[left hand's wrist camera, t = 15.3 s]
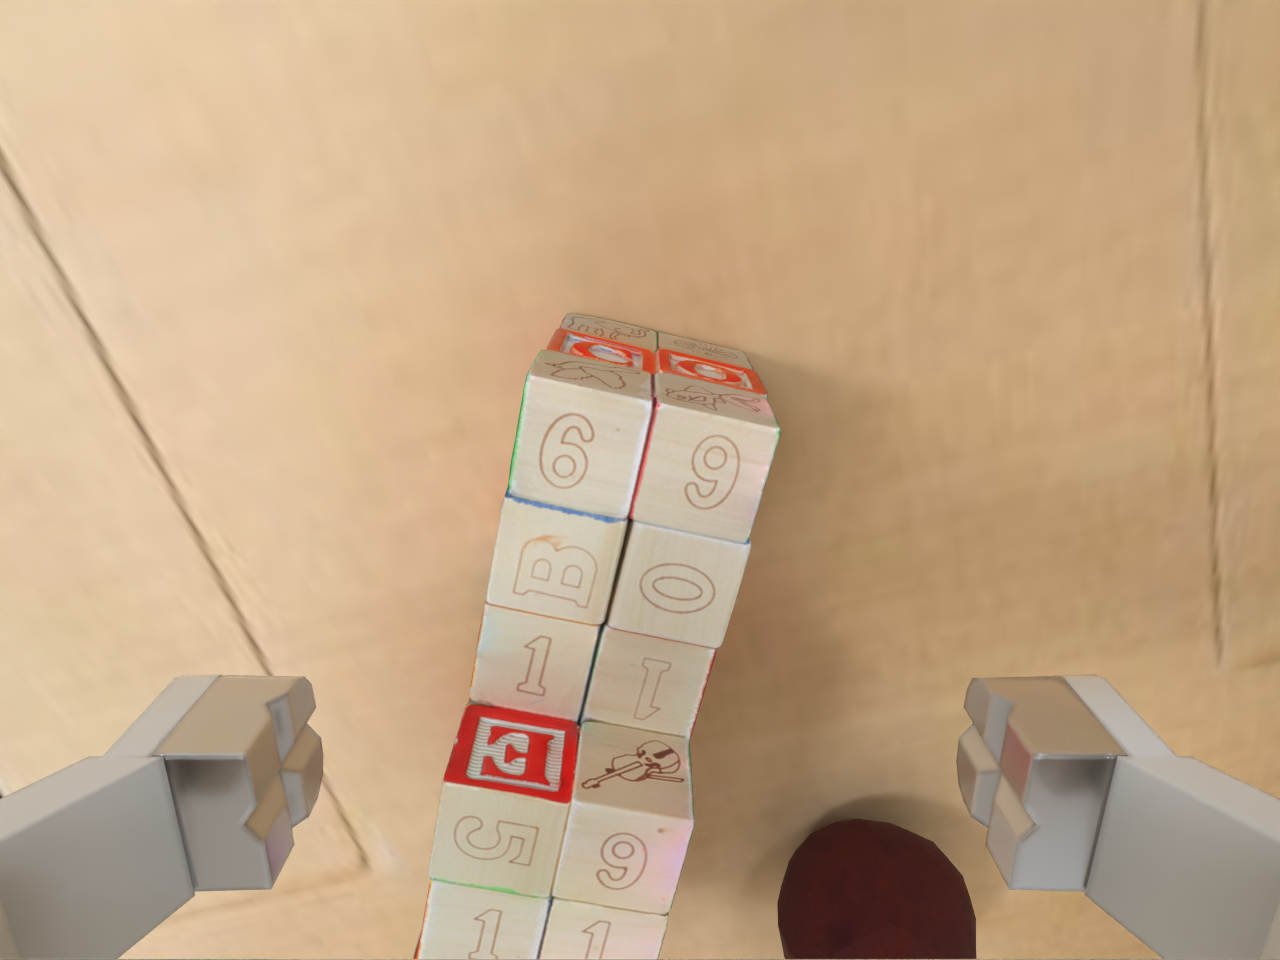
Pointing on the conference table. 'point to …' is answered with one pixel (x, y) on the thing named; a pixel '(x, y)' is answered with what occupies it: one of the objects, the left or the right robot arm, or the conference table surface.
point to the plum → (874, 897)
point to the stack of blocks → (597, 646)
